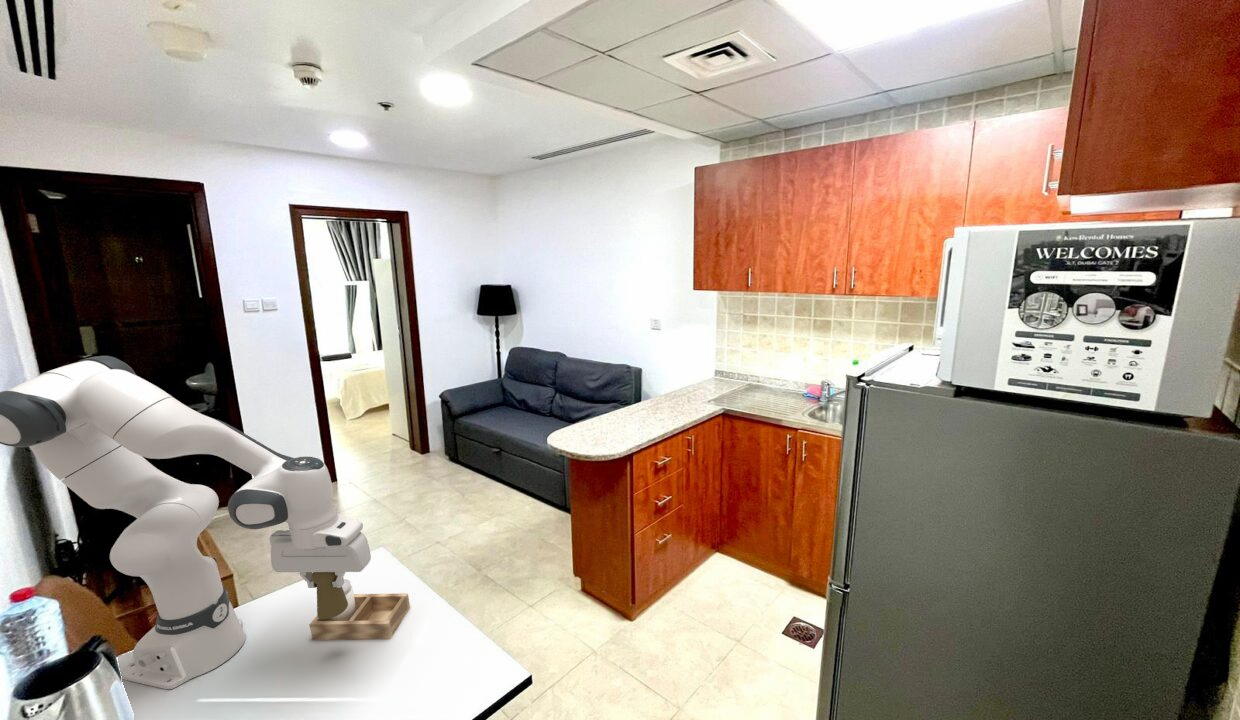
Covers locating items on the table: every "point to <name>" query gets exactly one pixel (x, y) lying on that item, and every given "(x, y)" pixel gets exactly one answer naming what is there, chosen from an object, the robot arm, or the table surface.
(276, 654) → the table surface
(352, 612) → the salt shaker
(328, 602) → the cork
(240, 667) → the table surface
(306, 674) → the table surface
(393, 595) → the caddy
